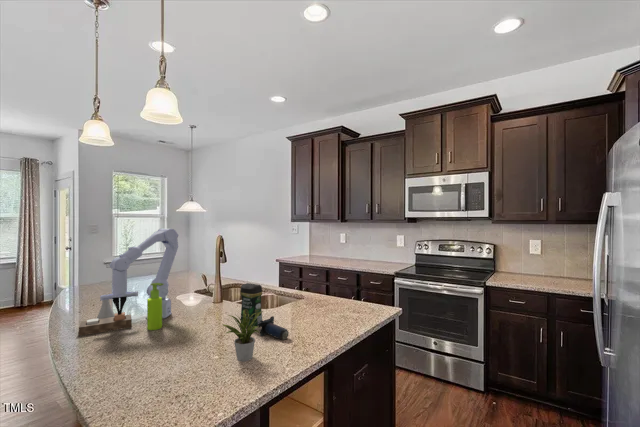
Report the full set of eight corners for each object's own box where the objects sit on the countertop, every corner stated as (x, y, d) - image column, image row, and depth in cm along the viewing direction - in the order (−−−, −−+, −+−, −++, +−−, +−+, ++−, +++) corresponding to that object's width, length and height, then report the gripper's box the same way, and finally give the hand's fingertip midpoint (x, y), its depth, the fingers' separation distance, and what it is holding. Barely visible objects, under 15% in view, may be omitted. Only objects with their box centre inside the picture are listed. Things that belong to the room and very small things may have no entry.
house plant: (250, 345, 122) (250, 302, 122) (275, 354, 113) (274, 308, 113) (217, 358, 111) (217, 311, 111) (242, 369, 102) (241, 318, 102)
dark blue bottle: (259, 339, 132) (280, 347, 125) (257, 322, 130) (278, 329, 123) (274, 328, 139) (295, 336, 132) (272, 312, 137) (293, 319, 130)
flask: (118, 315, 160) (118, 295, 160) (107, 320, 153) (107, 299, 153) (104, 315, 161) (104, 295, 161) (93, 319, 154) (93, 299, 154)
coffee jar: (237, 325, 145) (237, 284, 145) (249, 320, 152) (249, 281, 152) (253, 328, 140) (253, 286, 140) (265, 323, 147) (265, 283, 147)
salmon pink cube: (124, 321, 147) (124, 312, 147) (124, 324, 144) (124, 314, 144) (114, 323, 145) (114, 313, 145) (114, 325, 142) (114, 315, 142)
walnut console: (130, 321, 151) (130, 314, 151) (131, 327, 143) (131, 319, 143) (80, 329, 140) (80, 321, 140) (78, 335, 133) (78, 327, 133)
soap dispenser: (158, 330, 138) (157, 284, 138) (144, 329, 140) (144, 284, 140) (167, 326, 144) (167, 282, 144) (153, 325, 145) (153, 281, 146)
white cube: (98, 328, 142) (98, 318, 142) (98, 330, 138) (98, 320, 138) (87, 330, 140) (87, 319, 140) (86, 332, 136) (86, 322, 136)
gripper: (99, 287, 137) (99, 319, 137) (138, 283, 145) (138, 313, 145) (100, 284, 143) (100, 315, 143) (137, 281, 151) (137, 309, 151)
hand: (119, 314), depth 144 cm, fingers closed, pressing on salmon pink cube
